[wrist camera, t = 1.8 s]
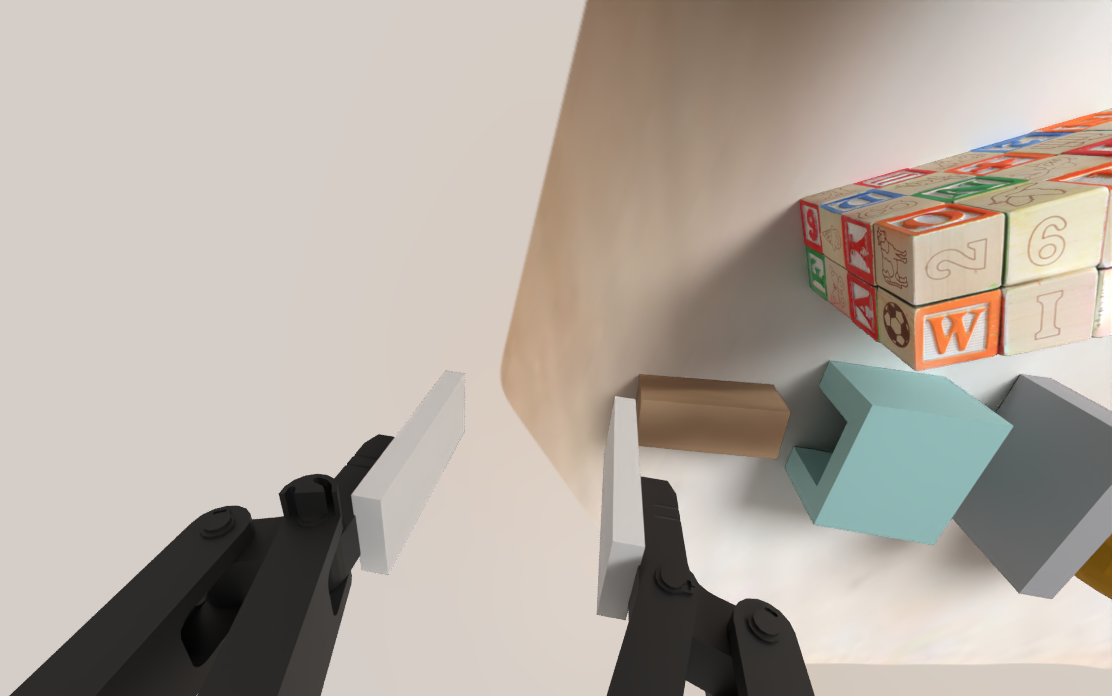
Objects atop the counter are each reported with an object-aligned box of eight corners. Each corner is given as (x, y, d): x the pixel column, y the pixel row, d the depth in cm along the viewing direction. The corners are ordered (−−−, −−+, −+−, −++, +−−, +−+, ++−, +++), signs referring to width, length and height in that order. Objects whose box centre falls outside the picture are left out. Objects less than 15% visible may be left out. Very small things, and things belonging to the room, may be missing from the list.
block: (829, 360, 32) (872, 405, 26) (945, 377, 31) (1013, 425, 26) (784, 467, 36) (813, 524, 31) (885, 484, 36) (933, 545, 30)
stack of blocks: (1242, 65, 23) (1841, -9, 12) (1214, 188, 25) (1691, 225, 14) (796, 199, 28) (913, 236, 17) (806, 290, 30) (916, 376, 19)
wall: (1020, 374, 30) (1144, 445, 23) (1051, 378, 30) (1185, 451, 23) (938, 502, 36) (1019, 593, 28) (964, 506, 36) (1051, 599, 28)
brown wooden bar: (639, 372, 34) (641, 399, 31) (772, 383, 33) (790, 412, 30) (634, 415, 36) (636, 445, 33) (760, 426, 35) (777, 459, 32)
